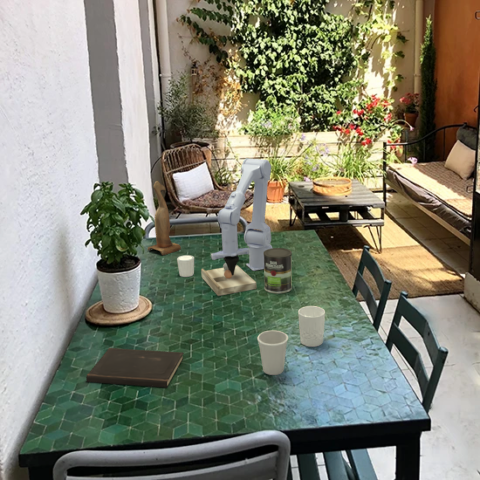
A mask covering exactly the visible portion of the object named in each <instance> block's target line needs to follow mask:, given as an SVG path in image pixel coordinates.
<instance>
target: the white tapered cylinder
mask: <svg viewBox="0 0 480 480" xmlns="http://www.w3.org/2000/svg"><path fill="white" fill-rule="evenodd" d="M176 261H177V266H178V267H177V268H178V272H179V276H180V277H182V278H188V277H189V278H190V277H192V276H193V275H195V274H194V273H195V256H193V255H190V254H187V255H180V256H178V257H177V258H176Z"/></svg>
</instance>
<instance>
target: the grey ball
mask: <svg viewBox="0 0 480 480" xmlns="http://www.w3.org/2000/svg"><path fill="white" fill-rule="evenodd" d="M222 268H224V270H229V269H228V266H227V264H226V262H224V263H223V265H222Z"/></svg>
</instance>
